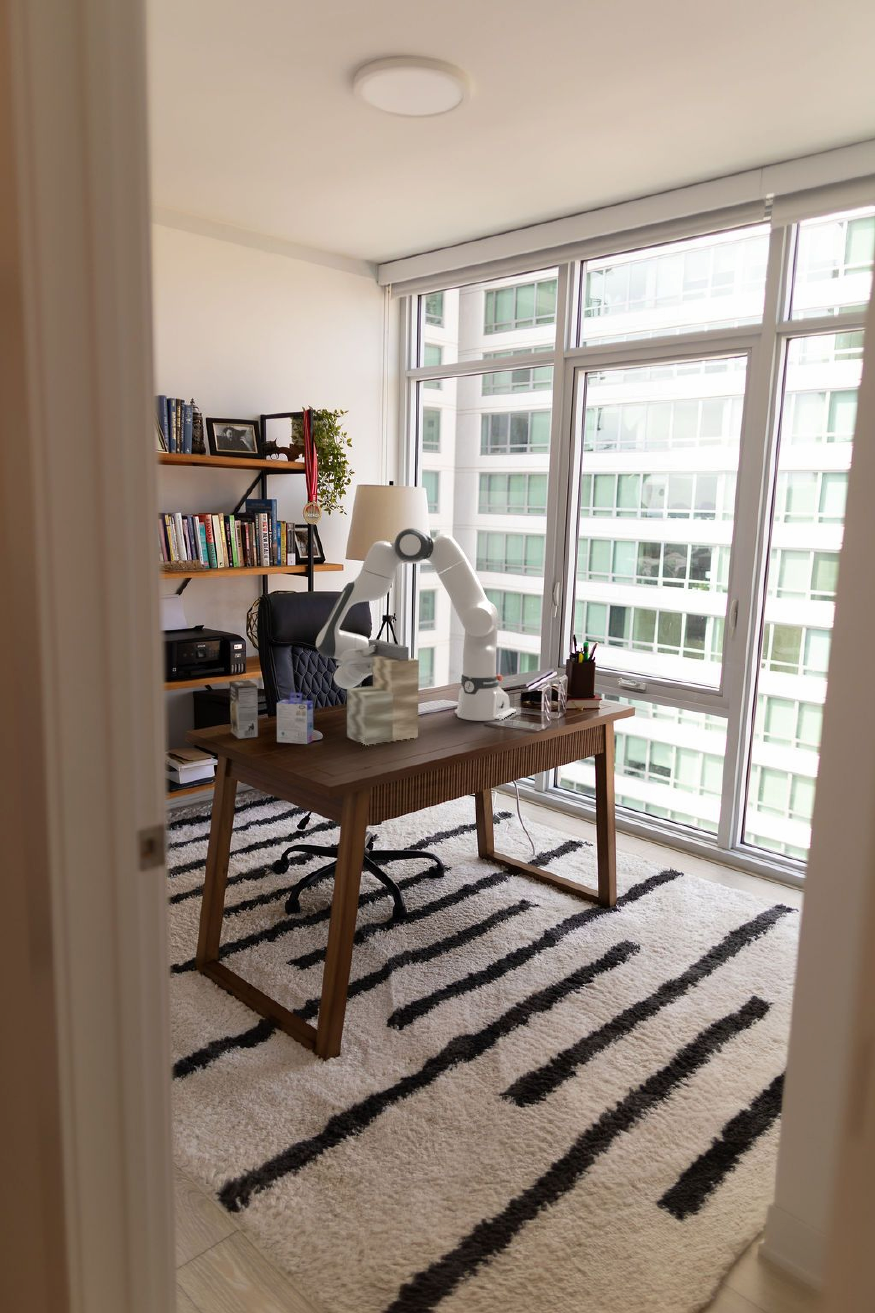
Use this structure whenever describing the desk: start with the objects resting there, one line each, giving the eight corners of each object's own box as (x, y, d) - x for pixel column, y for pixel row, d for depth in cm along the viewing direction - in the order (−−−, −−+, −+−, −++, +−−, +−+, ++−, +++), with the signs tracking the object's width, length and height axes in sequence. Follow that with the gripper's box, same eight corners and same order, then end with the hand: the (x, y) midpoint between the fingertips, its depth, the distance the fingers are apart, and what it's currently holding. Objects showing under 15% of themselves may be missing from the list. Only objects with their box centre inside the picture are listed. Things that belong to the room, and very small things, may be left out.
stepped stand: (347, 736, 272) (346, 659, 268) (397, 729, 282) (398, 654, 278) (366, 745, 262) (366, 665, 258) (418, 737, 272) (418, 660, 268)
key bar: (368, 652, 281) (368, 640, 281) (376, 651, 283) (376, 639, 282) (399, 661, 266) (400, 648, 265) (408, 660, 267) (408, 647, 267)
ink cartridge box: (314, 740, 268) (314, 692, 265) (308, 744, 262) (307, 696, 260) (283, 738, 270) (282, 691, 267) (276, 742, 264) (275, 694, 262)
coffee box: (230, 732, 276) (228, 681, 273) (250, 730, 279) (249, 679, 276) (237, 739, 268) (236, 686, 265) (258, 736, 271) (257, 684, 268)
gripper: (331, 656, 283) (349, 639, 273) (387, 651, 295) (406, 635, 284) (336, 674, 282) (354, 658, 271) (391, 669, 293) (411, 653, 282)
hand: (381, 646), depth 277 cm, fingers open, 3 cm apart
